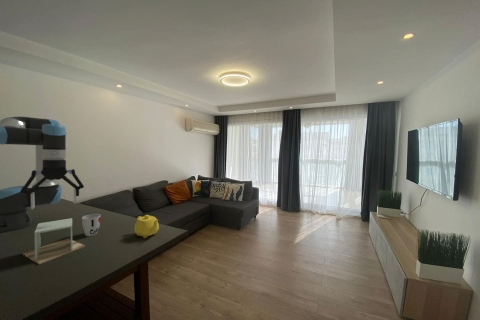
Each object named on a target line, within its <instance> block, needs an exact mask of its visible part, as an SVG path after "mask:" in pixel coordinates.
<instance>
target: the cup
mask: <svg viewBox="0 0 480 320" xmlns="http://www.w3.org/2000/svg"><path fill="white" fill-rule="evenodd" d="M81 222H82V229H83V233H84V235H85V237H92V236H95V235H97V234H98V232H99V229H100V225H101V214H100V213H91V214H86V215H84V216H82V217H81Z"/></svg>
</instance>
